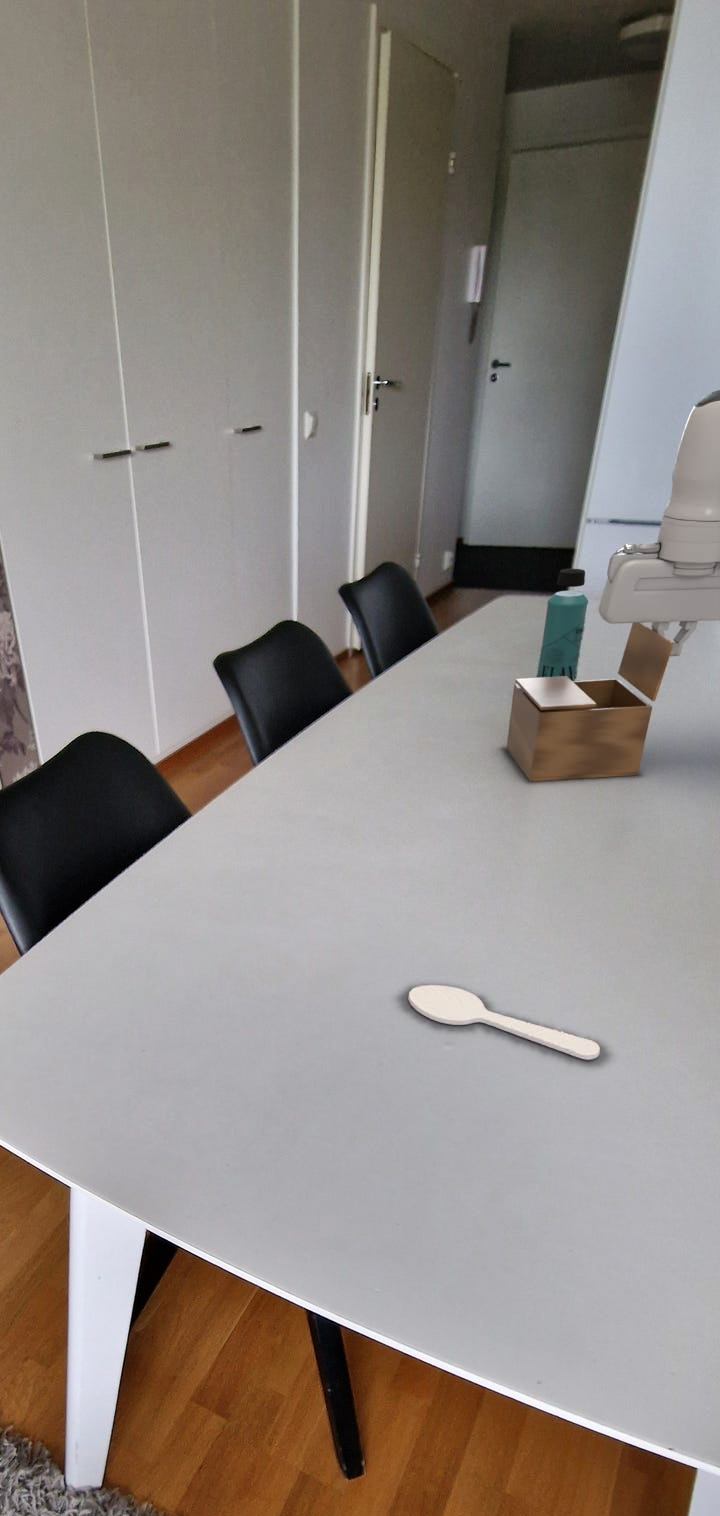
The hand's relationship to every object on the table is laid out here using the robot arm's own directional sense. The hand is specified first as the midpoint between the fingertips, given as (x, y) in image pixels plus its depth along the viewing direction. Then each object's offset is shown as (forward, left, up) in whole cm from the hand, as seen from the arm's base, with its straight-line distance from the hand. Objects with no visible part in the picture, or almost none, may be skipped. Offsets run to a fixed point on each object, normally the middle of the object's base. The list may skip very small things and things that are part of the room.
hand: (666, 655), depth 125 cm
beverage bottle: (+26, -13, -14) cm, 32 cm away
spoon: (-27, +67, -14) cm, 74 cm away
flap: (+2, +3, 0) cm, 3 cm away
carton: (+7, +9, -14) cm, 18 cm away
